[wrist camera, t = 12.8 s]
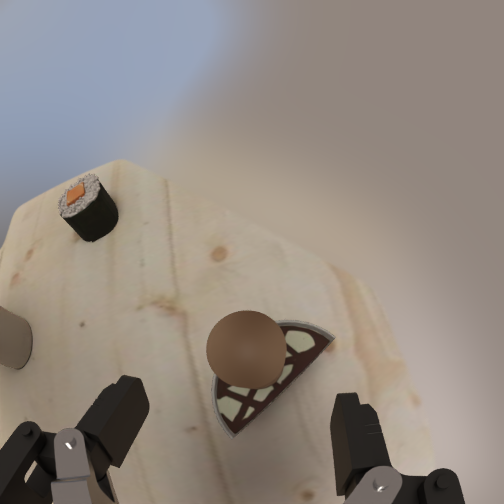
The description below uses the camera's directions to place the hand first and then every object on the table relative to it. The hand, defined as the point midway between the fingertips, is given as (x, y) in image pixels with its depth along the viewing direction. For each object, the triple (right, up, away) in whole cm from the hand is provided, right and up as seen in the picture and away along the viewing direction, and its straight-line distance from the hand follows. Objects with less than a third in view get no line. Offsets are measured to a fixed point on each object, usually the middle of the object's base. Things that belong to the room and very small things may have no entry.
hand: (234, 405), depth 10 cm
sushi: (-25, +11, +33) cm, 43 cm away
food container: (+2, -7, +19) cm, 21 cm away
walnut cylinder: (+1, -3, +10) cm, 11 cm away
